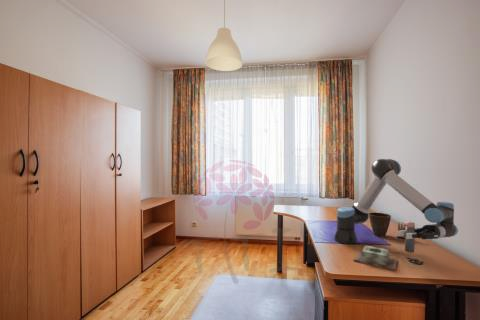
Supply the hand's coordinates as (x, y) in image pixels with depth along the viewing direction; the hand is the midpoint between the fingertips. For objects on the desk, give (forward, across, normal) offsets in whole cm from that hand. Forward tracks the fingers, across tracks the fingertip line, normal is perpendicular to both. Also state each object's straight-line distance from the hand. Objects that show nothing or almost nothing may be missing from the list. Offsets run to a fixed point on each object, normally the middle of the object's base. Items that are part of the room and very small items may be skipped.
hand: (402, 234), depth 126 cm
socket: (+3, +14, -19) cm, 23 cm away
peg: (-5, 0, -9) cm, 10 cm away
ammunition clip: (-54, +37, -19) cm, 68 cm away
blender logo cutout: (-20, +9, -19) cm, 29 cm away
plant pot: (-44, +51, -19) cm, 70 cm away
